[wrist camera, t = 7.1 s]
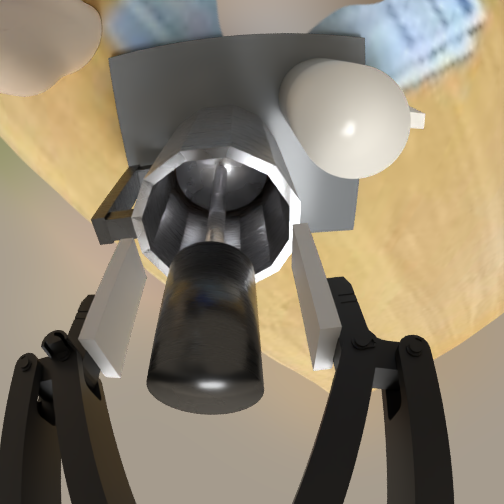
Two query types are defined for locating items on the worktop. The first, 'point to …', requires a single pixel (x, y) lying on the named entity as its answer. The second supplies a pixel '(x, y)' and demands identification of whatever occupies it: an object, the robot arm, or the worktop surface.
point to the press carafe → (194, 216)
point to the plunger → (210, 304)
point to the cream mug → (347, 116)
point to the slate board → (233, 103)
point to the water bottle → (44, 42)
